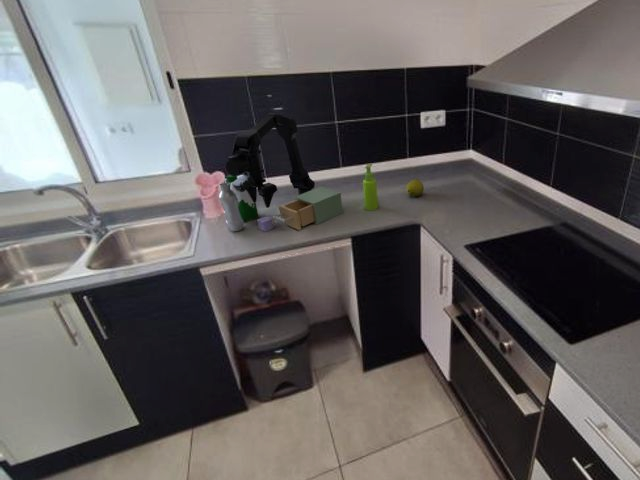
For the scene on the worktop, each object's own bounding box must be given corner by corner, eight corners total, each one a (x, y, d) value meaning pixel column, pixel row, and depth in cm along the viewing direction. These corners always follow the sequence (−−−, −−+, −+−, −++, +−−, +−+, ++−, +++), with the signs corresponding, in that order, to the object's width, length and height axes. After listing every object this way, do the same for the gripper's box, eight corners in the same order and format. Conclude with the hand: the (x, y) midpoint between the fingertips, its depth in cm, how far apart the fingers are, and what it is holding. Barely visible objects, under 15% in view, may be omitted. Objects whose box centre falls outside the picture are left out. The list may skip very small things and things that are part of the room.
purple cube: (259, 228, 157) (257, 219, 155) (268, 225, 160) (266, 216, 158) (265, 231, 155) (262, 222, 153) (274, 227, 158) (272, 218, 156)
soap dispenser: (379, 204, 178) (376, 162, 168) (376, 210, 171) (373, 168, 162) (367, 203, 178) (363, 162, 168) (363, 210, 172) (360, 167, 162)
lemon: (415, 190, 192) (415, 175, 188) (427, 194, 187) (427, 179, 183) (401, 197, 184) (400, 182, 180) (413, 201, 180) (413, 185, 176)
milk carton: (232, 217, 166) (220, 174, 157) (252, 211, 172) (242, 169, 163) (241, 223, 161) (230, 179, 152) (262, 216, 167) (251, 173, 157)
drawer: (289, 234, 151) (285, 216, 147) (272, 226, 157) (268, 209, 153) (324, 218, 163) (322, 201, 159) (307, 211, 169) (304, 195, 166)
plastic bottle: (248, 227, 159) (237, 181, 149) (237, 234, 153) (224, 188, 143) (236, 224, 160) (224, 180, 151) (224, 232, 155) (210, 186, 145)
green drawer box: (317, 224, 160) (313, 203, 155) (298, 216, 167) (294, 196, 162) (342, 212, 170) (340, 192, 166) (324, 205, 177) (321, 186, 172)
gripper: (219, 168, 144) (229, 205, 152) (246, 178, 134) (256, 218, 142) (246, 161, 152) (255, 197, 159) (274, 169, 142) (281, 207, 150)
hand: (261, 204), depth 152 cm, fingers open, 9 cm apart
